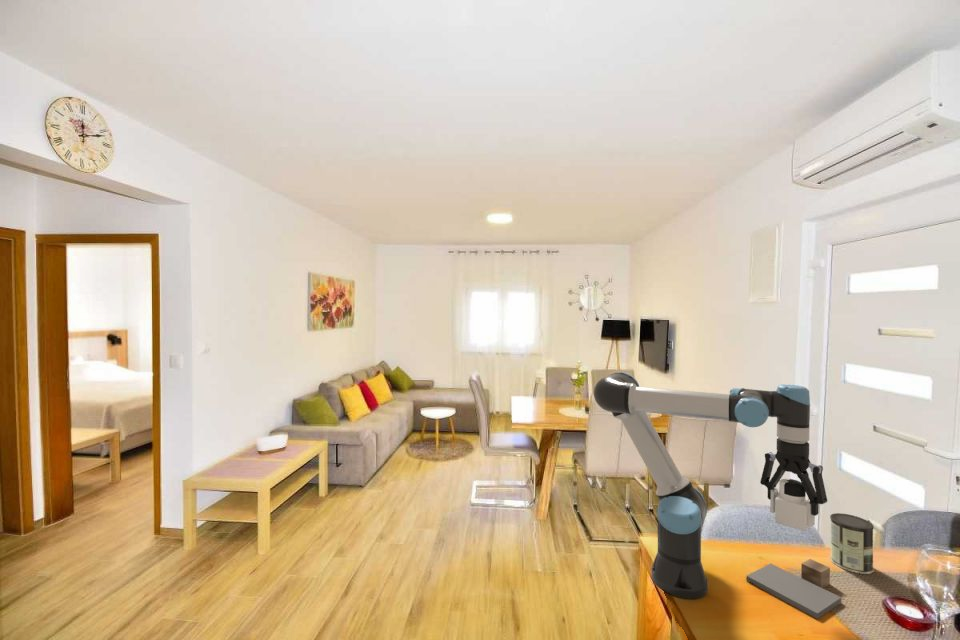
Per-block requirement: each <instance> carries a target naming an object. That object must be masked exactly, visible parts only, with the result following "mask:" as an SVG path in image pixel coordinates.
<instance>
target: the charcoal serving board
mask: <svg viewBox="0 0 960 640" xmlns="http://www.w3.org/2000/svg"><path fill="white" fill-rule="evenodd" d="M745 579H746V580H747V582H748V581H749V582H748V583H750V582H751V583H750V584H752V583H753V584H752V585H753V586H755V585H756V586H755V587H757V588H759V589H761V590H763V591H765V592H766V593H769V594H770V595H772V596H774V597H776V598H778V599H779V600H781V601H783V602H785V603H787V604H789V605H791V606H793V607H794V608H797V609H798V610H800V611H802V612H804V613H805V614H807V615H809V616H811V617H813V618H815V619H817V620H818V619H820V618H821V617H822V616H825V615H826V614H827V613H829V612H831V611H832V610H833V609H835V608H836V607H837V606H840V605H841V604H842V597H841V596H840V595H837V594H835V593H833V592H832V591H831V592H830V591H829V590H827V589H825V588H821V587H819V586H817V585H814V584H812V583H810V582H808V581H806V580H804V579H802V578H801V577H800V576H798V575H795V574H793V573H792V572H789V571H787V570H784V569H783V568H781V567H779V566H777V565H774V564H772V563H769V564H767V565H765V566H762V567H761V568H758V569H757V570H755V571H753V572H751V573H749V574H747V575H746V576H745Z"/></svg>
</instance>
